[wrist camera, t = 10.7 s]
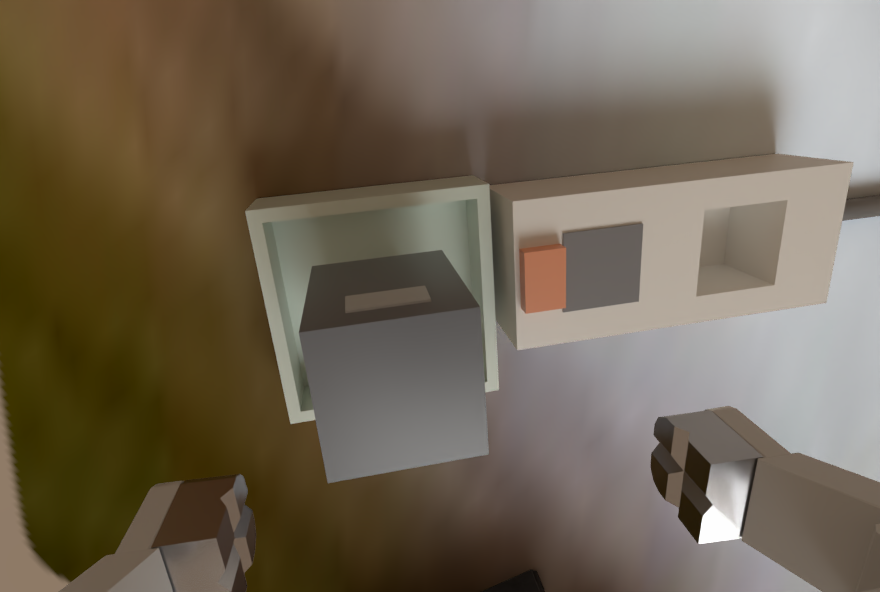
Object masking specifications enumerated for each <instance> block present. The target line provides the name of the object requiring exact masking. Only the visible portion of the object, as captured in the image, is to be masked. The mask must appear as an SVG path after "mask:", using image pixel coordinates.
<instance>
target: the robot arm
mask: <svg viewBox="0 0 880 592" xmlns="http://www.w3.org/2000/svg"><path fill="white" fill-rule="evenodd" d="M654 436H655V437H656V438H657V440H658V441H659V442H660V443H659V444H658V446H657V447H656V448H655V449H654V451H653V452H652V454H651V471H652V475H653V480H654V482H655V485H656V487H657V489H658V491H659V492H660V494H661V495H662V496H663V498H664V499H665V500H666V501H668V502H670V503H671V504H673V505H675V506H677V507H679V514H678V518H679V519H680V520H681V522H682V523H683V524H684V526H685V527H686V528H687V530H688V531H689V532H690V534H691V535H692V536H693V537H694V539H695V540H696V541H697V543H698V544H702V543H710V542H717V541H724V540H732V539H739V538H742V541H743V542H745V543H746V544H748V545H750V546H751V547H753V548H754V549H756V550H757V551H759V552H761V553H762V554H764V555H765V556H767V557H768V558H770V559H772V560H773V561H775V562H776V563H778V564H780V565H781V566H783V567H784V568H786V569H787V570H789V571H791V572H792V573H794V574H795V575H797V576H798V577H800V578H802V579H803V580H805V581H806V582H808V583H810V584H811V585H813V586H814V587H816V588H817V589H819V590H821V591H822V592H880V482H877V481H875V480H872V479H869V478H866V477H864V476H861V475H858V474H855V473H853V472H850V471H847V470H844V469H842V468H839V467H836V466H834V465H831V464H828V463H825V462H823V461H820V460H817V459H814V458H812V457H809V456H806V455H803V454H801V453H792V454H791V453H790V452H788V451H787V450H786V449H785V448H783V447H782V446H781V445H780V444H779V443H777V442H776V441H775V440H774V439H773V438H771V437H770V436H769V435H768V434H767V433H765V432H764V431H763V430H762V429H760V428H759V427H758V426H757V425H756V424H754V423H753V422H752V421H751V420H750V419H748V418H747V417H746V416H745V415H744V414H742V413H741V412H740V411H739V410H737V409H736V408H733V407H730V406H725V407H719V408H713V409H707V410H705V411H699V412H692V413H685V414H678V415H671V416H664V417H658V419H657V421H656V423H655V427H654ZM247 493H248V490H247V487H246V483H245V480H244V477H243V476H242V475H241V474H235V475H226V476H218V477H209V478H200V479H191V480H185V481H176V482H168V483H161V484H156V485H155V486H153V487H152V488H151V489H150V490H149V492H148V494H147V496H146V498H145V499H144V501H143V503H142V505H141V507H140V509H139V510H138V512H137V514H136V516H135V518H134V520H133V522H132V523H131V525H130V527H129V529H128V531H127V533H126V534H125V536H124V538H123V540H122V542H121V544H120V546H119V547H118V549H117V551H116V553H115V554H114V555H107V556H105V557H103V558H102V559H101V560H99V561H98V562H97V563H95V564H94V565H93V566H92V567H90V568H89V569H88V570H86V571H85V572H84V573H82V574H81V575H80V576H79V577H77V578H76V579H75V580H73V581H72V582H71V583H69V584H68V585H67V586H66V587H64V588H63V589H62V590H60V591H59V592H246V589H247V583H246V579H245V575H244V572H245V571H246V570H247V569H248V568H249V567H250V566H251V565H252V563H253V558H254V553H255V543H256V529H255V520H254V516H253V511H252V510H251V509H250V508H248V507H247V506H246V505H244V503H245V500H246V496H247Z"/></svg>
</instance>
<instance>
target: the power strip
mask: <svg viewBox="0 0 880 592" xmlns="http://www.w3.org/2000/svg"><path fill="white" fill-rule="evenodd" d="M852 167H853V162H846V161H838V160H829V159H820V158H811V157H803V156H794V155H785V154H768V155H759V156H750V157H741V158H732V159H723V160H714V161H704V162H695V163H686V164H677V165H668V166H659V167H650V168H641V169H632V170H623V171H614V172H605V173H596V174H587V175H578V176H569V177H560V178H551V179H541V180H532V181H523V182H514V183H505V184H496V185H489V189H490V210H491V232H492V253H493V274H494V295H495V316H496V321H497V322H498V324H499V325H500V326H501V328H502V329H503V331H504V332H505V333H506V335H507V336H508V338H509V339H510V341H511V342H512V343H513V345H514V346H515V348H516V349H517V350H522V349H528V348H535V347H541V346H548V345H554V344H561V343H567V342H574V341H580V340H587V339H593V338H600V337H606V336H613V335H619V334H626V333H633V332H639V331H646V330H652V329H659V328H665V327H672V326H678V325H685V324H691V323H698V322H704V321H711V320H717V319H724V318H730V317H737V316H743V315H750V314H756V313H763V312H769V311H776V310H782V309H789V308H795V307H802V306H808V305H815V304H821V303H826V301H827V296H828V291H829V286H830V281H831V276H832V270H833V265H834V260H835V255H836V250H837V245H838V239H839V234H840V229H841V224H842V221H844V220H852V219H859V218H867V217H874V216H880V195H878V196H870V197H862V198H854V199H846V198H847V193H848V188H849V183H850V177H851V172H852Z"/></svg>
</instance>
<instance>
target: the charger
mask: <svg viewBox="0 0 880 592" xmlns="http://www.w3.org/2000/svg"><path fill="white" fill-rule="evenodd" d="M299 337H300V342H301V347H302V352H303V357H304V363H305V368H306V373H307V378H308V383H309V388H310V393H311V399H312V404H313V409H314V414H315V419H316V424H317V430H318V435H319V440H320V445H321V450H322V455H323V461H324V466H325V471H326V476H327V481H328V483H331V482H337V481H342V480H348V479H354V478H359V477H365V476H370V475H376V474H382V473H387V472H393V471H398V470H404V469H409V468H415V467H421V466H426V465H432V464H437V463H443V462H449V461H454V460H460V459H465V458H471V457H476V456H482V455H488V454H489V448H488V431H487V414H486V397H485V379H484V362H483V345H482V328H481V310H480V306H479V304H478V303H477V301H476V300H475V298H474V297H473V295H472V294H471V292H470V291H469V289H468V288H467V286H466V285H465V283H464V282H463V281H462V279H461V278H460V276H459V275H458V273H457V272H456V270H455V269H454V267H453V266H452V264H451V263H450V261H449V260H448V258H447V257H446V255H445V254H444V252H443V251H442V250H437V251H429V252H421V253H413V254H405V255H397V256H389V257H381V258H373V259H365V260H357V261H349V262H341V263H333V264H325V265H317V266H312V268H311V273H310V278H309V283H308V288H307V293H306V298H305V303H304V308H303V314H302V319H301V324H300V329H299Z"/></svg>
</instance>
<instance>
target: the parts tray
mask: <svg viewBox="0 0 880 592" xmlns="http://www.w3.org/2000/svg"><path fill="white" fill-rule="evenodd" d="M245 213H246V218H247V223H248V227H249V232H250V237H251V241H252V246H253V251H254V255H255V260H256V265H257V269H258V274H259V279H260V283H261V288H262V293H263V297H264V302H265V307H266V311H267V316H268V321H269V325H270V330H271V335H272V339H273V344H274V349H275V353H276V358H277V363H278V367H279V372H280V377H281V381H282V386H283V391H284V395H285V400H286V405H287V409H288V414H289V419H290V423H291V424H293V423H299V422H305V421H311V420H316V419H315V414H314V409H313V404H312V399H311V393H310V388H309V383H308V378H307V373H306V368H305V363H304V357H303V352H302V347H301V342H300V337H299V329H300V324H301V319H302V314H303V308H304V303H305V298H306V293H307V288H308V283H309V278H310V273H311V268H312V266H317V265H325V264H333V263H341V262H349V261H357V260H365V259H373V258H381V257H389V256H397V255H405V254H413V253H421V252H429V251H437V250H442V251H443V252H444V254H445V255H446V257H447V258H448V260H449V261H450V263H451V264H452V266H453V267H454V269H455V270H456V272H457V273H458V275H459V276H460V278H461V279H462V281H463V282H464V283H465V285H466V286H467V288H468V289H469V291H470V292H471V294H472V295H473V297H474V298H475V300H476V301H477V303H478V304H479V306H480V310H481V328H482V345H483V362H484V379H485V392H489V391H495V390H499V380H498V359H497V338H496V316H495V295H494V274H493V253H492V232H491V210H490V189H489V184H488V183H486V182H485V181H483V180H481V179H479V178H477V177H475V176H474V175H470V176H461V177H452V178H442V179H433V180H424V181H415V182H405V183H396V184H387V185H377V186H368V187H359V188H349V189H340V190H331V191H321V192H312V193H303V194H293V195H284V196H275V197H266V198H257V199H256V200H255V201H254V202H253V203H252V204H251V205H250V206H249V207H248V208H247V209H246V210H245Z"/></svg>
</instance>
